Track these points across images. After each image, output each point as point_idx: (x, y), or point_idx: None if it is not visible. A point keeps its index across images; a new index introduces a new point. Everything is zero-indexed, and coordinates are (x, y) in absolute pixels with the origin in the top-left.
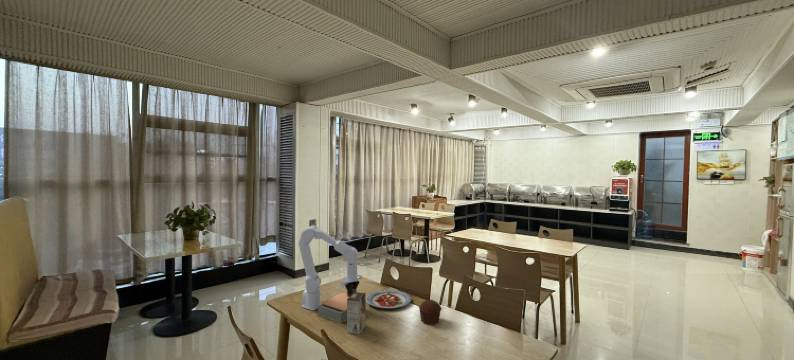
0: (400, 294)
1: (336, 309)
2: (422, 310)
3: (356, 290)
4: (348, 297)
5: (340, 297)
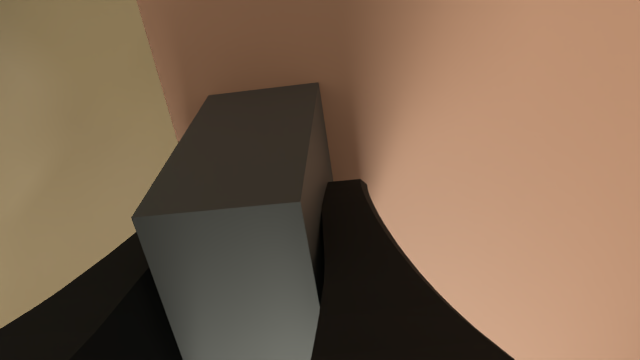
0: None
1: None
2: None
3: (141, 203)
4: None
5: None
